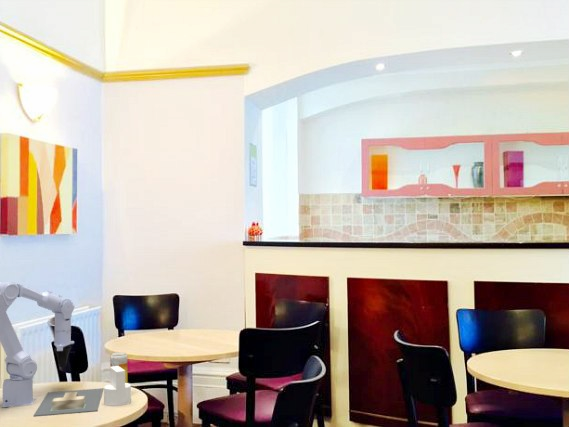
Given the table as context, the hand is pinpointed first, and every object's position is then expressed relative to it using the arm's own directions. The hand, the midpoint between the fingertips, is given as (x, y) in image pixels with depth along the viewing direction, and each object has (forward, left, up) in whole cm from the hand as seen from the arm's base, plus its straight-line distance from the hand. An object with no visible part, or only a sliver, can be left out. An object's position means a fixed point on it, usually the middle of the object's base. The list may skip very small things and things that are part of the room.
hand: (62, 366), depth 216 cm
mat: (+5, -15, -9) cm, 18 cm away
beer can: (+21, -10, -10) cm, 25 cm away
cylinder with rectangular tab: (+21, -21, -10) cm, 31 cm away
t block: (+5, -20, -9) cm, 23 cm away
